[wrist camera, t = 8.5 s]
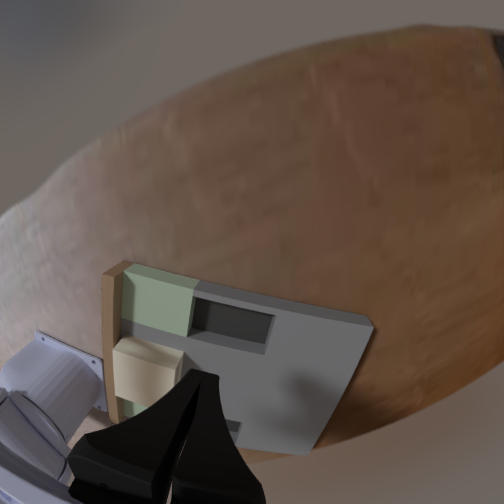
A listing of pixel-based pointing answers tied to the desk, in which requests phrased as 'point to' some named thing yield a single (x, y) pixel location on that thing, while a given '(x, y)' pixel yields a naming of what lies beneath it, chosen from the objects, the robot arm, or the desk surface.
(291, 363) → the board
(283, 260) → the desk surface
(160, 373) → the cream block
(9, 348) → the desk surface
